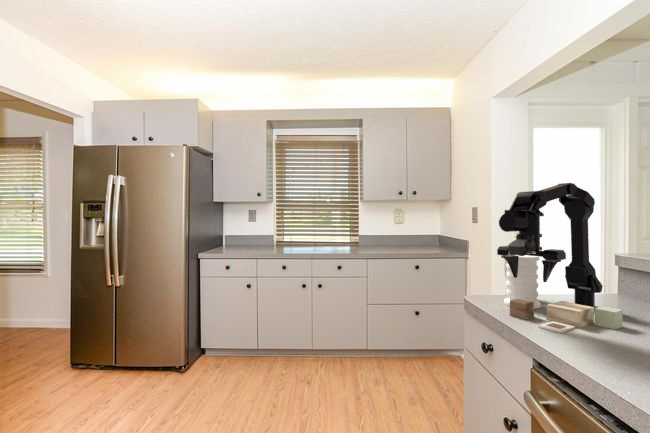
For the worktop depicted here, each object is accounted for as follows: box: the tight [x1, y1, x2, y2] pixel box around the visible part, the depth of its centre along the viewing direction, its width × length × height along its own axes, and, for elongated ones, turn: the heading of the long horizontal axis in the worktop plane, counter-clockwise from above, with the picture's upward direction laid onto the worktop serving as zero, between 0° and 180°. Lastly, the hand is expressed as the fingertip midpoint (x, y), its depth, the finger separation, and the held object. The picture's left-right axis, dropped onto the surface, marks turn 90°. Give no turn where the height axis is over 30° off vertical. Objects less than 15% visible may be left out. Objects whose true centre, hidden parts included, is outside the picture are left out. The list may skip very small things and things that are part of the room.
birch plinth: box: [546, 300, 595, 329], centre depth 109 cm, size 9×9×5 cm
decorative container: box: [504, 255, 542, 310], centre depth 129 cm, size 12×12×18 cm
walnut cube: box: [509, 299, 535, 320], centre depth 115 cm, size 5×5×5 cm
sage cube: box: [594, 305, 623, 330], centre depth 104 cm, size 5×5×5 cm
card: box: [538, 321, 576, 334], centre depth 103 cm, size 8×6×1 cm
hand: (529, 279), depth 112 cm, fingers open, 9 cm apart
